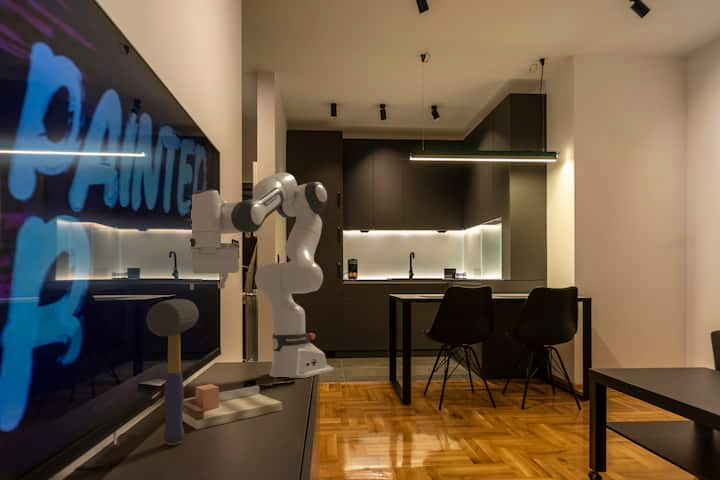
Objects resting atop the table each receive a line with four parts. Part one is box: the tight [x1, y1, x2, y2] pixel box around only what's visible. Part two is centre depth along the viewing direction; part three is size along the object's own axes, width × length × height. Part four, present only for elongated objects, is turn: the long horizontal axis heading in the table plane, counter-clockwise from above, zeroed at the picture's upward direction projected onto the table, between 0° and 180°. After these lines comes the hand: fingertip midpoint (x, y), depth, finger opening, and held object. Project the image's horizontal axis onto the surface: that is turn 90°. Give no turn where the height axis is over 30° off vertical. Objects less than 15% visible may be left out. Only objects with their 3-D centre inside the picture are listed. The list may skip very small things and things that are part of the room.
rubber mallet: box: [145, 298, 199, 446], centre depth 102 cm, size 12×8×30 cm, turn 0°
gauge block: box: [195, 383, 220, 411], centre depth 121 cm, size 4×5×5 cm
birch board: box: [182, 393, 283, 430], centre depth 122 cm, size 22×14×4 cm, turn 129°
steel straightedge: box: [183, 385, 260, 406], centre depth 127 cm, size 22×2×2 cm, turn 129°
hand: (206, 289), depth 144 cm, fingers open, 8 cm apart
